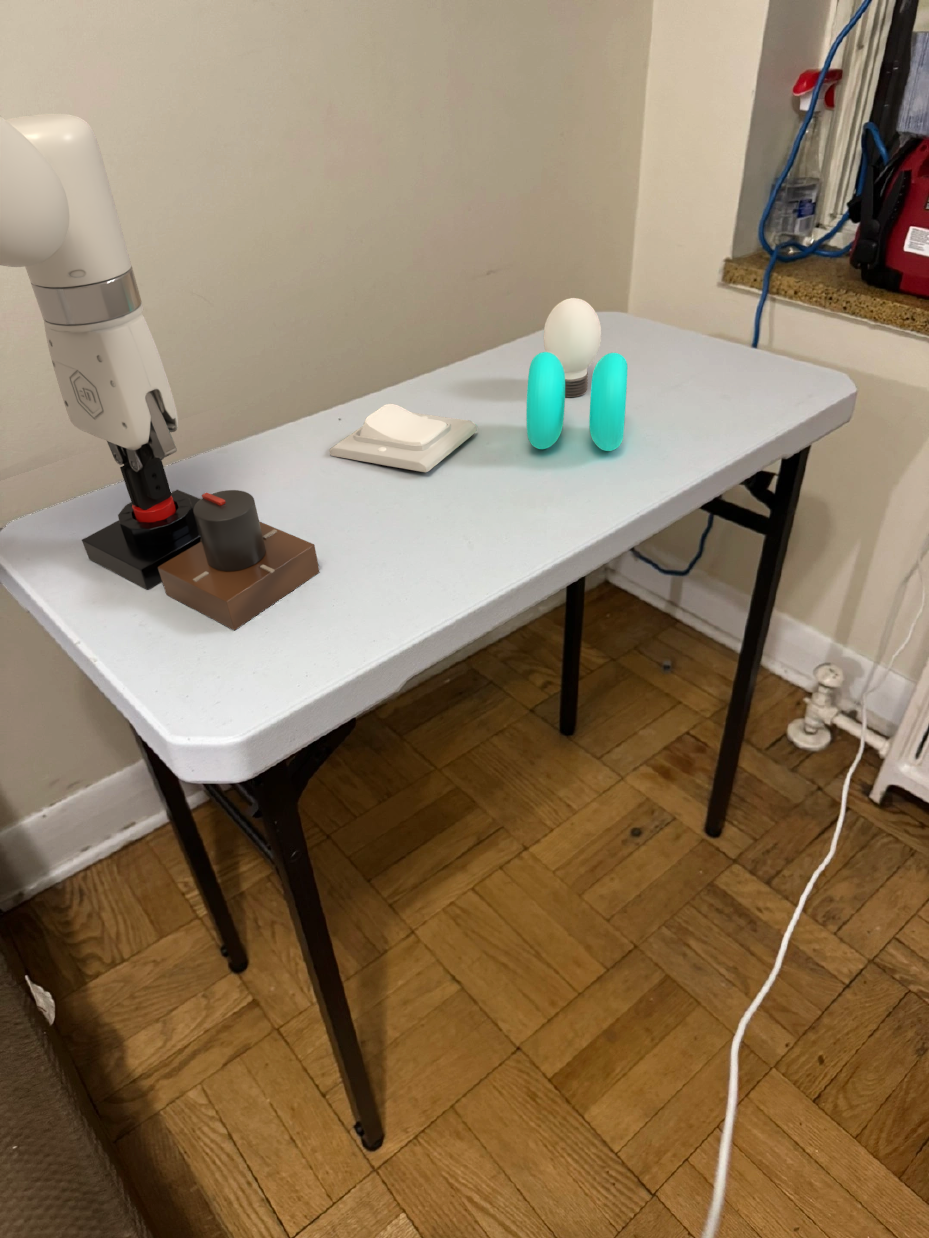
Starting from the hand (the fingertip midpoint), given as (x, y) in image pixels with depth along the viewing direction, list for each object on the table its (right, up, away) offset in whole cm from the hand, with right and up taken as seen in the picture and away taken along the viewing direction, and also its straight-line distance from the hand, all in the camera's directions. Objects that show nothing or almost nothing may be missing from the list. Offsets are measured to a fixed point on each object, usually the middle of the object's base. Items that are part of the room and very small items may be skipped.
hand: (152, 501), depth 79 cm
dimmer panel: (+9, -8, -2) cm, 12 cm away
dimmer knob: (+9, -5, -4) cm, 11 cm away
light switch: (+22, +8, +17) cm, 29 cm away
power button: (0, -1, +1) cm, 2 cm away
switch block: (0, -4, +3) cm, 5 cm away
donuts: (+41, +8, +15) cm, 44 cm away
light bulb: (+42, +17, +27) cm, 52 cm away
